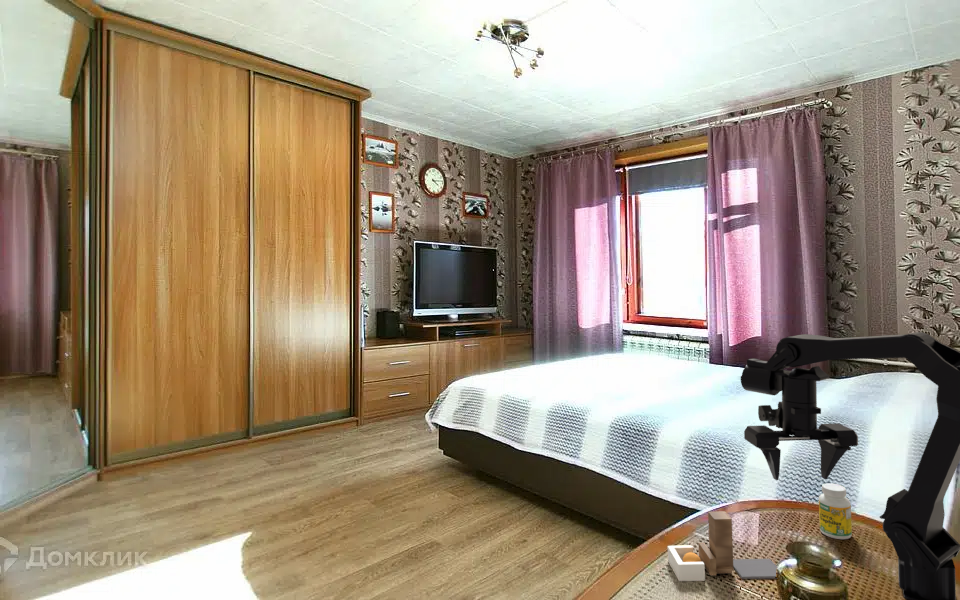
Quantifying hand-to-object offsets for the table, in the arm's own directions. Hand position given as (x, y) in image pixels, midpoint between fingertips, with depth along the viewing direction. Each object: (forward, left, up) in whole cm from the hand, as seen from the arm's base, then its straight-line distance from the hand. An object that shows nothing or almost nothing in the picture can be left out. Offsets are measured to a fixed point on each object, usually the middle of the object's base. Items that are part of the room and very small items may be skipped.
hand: (799, 478), depth 100 cm
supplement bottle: (-5, -8, -13) cm, 17 cm away
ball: (+15, +20, -12) cm, 28 cm away
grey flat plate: (+6, +14, -13) cm, 20 cm away
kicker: (+12, +17, -12) cm, 24 cm away
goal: (+16, +20, -13) cm, 29 cm away
